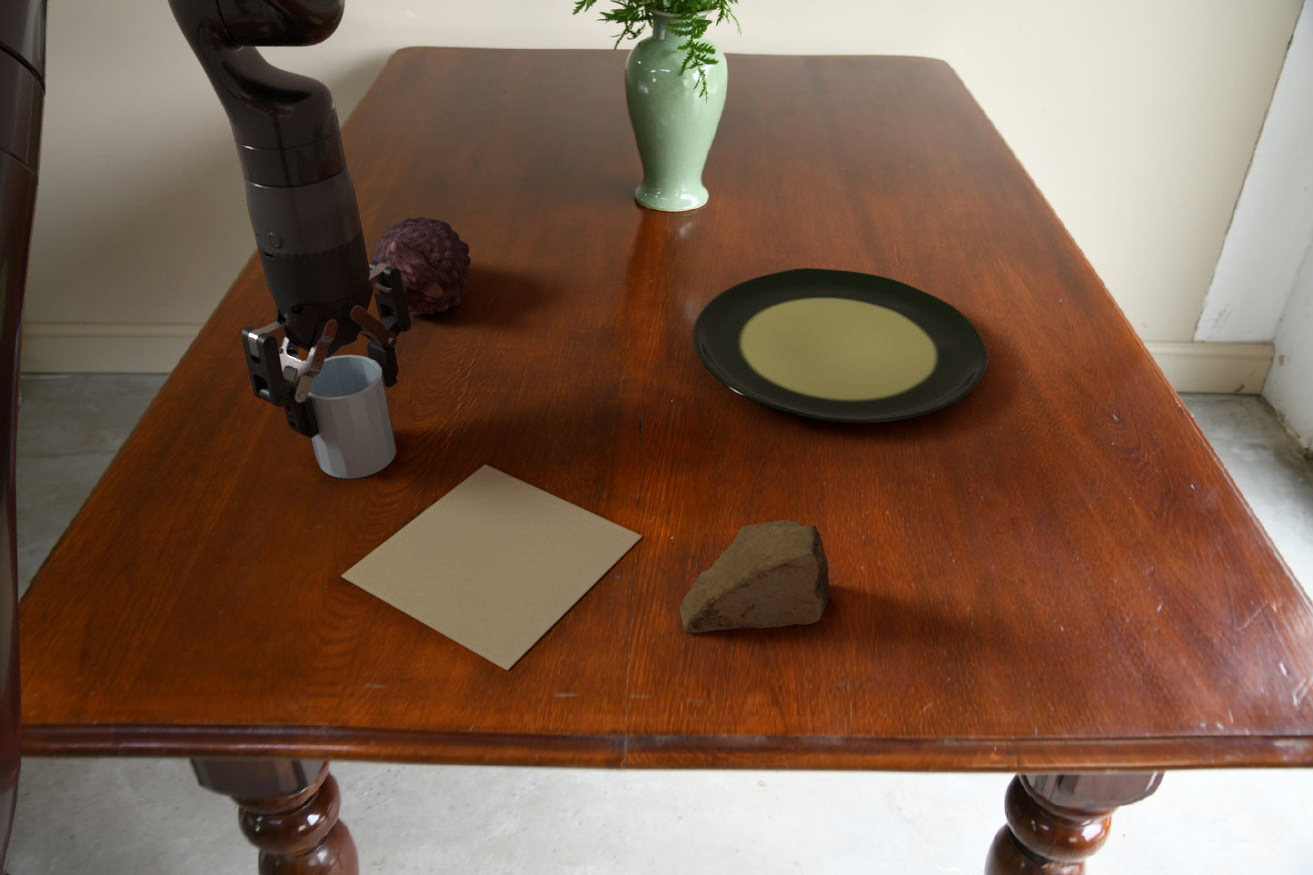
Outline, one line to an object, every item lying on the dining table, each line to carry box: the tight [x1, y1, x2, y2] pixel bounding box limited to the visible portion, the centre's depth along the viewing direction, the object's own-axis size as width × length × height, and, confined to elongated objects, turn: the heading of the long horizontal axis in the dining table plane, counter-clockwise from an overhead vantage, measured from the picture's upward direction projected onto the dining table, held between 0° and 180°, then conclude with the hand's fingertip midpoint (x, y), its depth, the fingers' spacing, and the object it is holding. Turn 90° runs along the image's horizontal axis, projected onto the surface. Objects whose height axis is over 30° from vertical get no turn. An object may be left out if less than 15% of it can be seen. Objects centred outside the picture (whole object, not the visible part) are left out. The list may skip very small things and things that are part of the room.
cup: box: [308, 354, 397, 480], centre depth 85 cm, size 6×6×8 cm
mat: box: [340, 464, 643, 672], centre depth 77 cm, size 16×16×1 cm
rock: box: [679, 519, 830, 634], centre depth 71 cm, size 11×9×10 cm
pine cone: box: [370, 216, 472, 316], centre depth 106 cm, size 18×10×10 cm
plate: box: [692, 267, 989, 425], centre depth 99 cm, size 28×28×2 cm
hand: (347, 407), depth 85 cm, fingers open, 8 cm apart
